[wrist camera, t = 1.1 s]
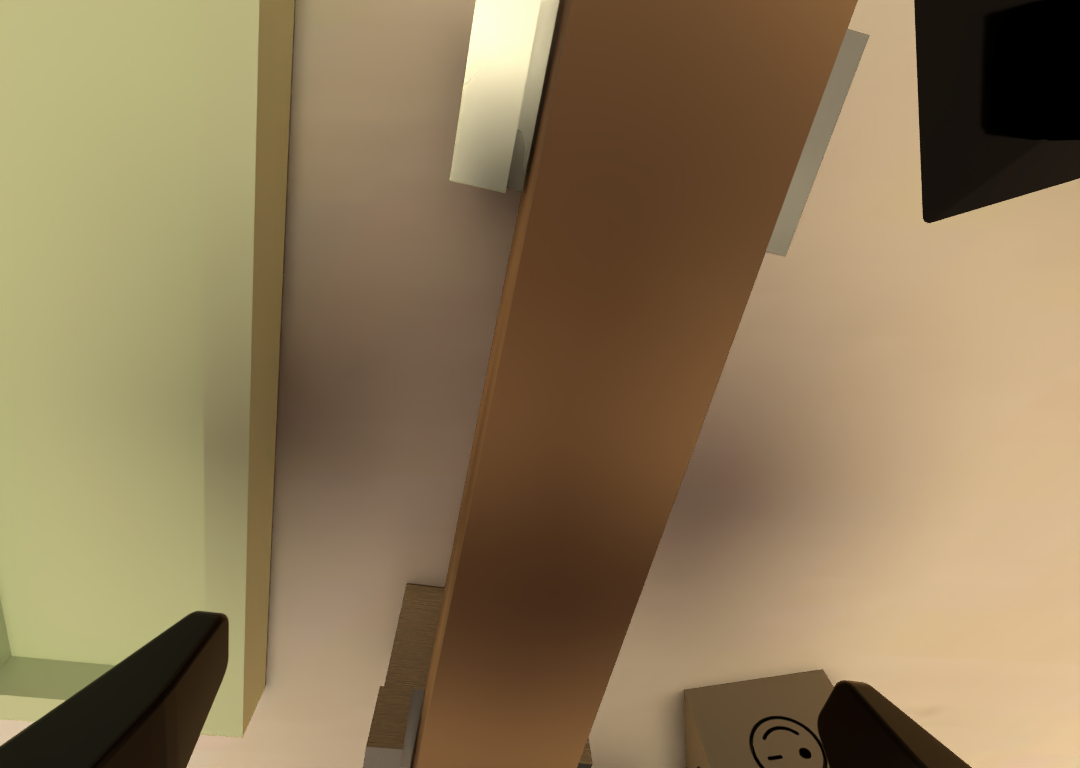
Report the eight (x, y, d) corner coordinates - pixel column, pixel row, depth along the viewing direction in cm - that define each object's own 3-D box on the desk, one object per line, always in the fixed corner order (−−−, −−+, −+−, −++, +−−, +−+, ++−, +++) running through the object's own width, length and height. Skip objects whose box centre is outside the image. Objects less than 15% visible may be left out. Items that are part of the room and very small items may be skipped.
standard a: (547, 670, 18) (563, 841, 14) (392, 654, 18) (354, 829, 13) (568, 603, 17) (592, 764, 13) (403, 583, 17) (366, 747, 12)
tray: (265, 686, 18) (242, 737, 16) (-7, 662, 17) (-59, 714, 15) (305, -237, 10) (266, -315, 8) (-231, -411, 8) (-399, -541, 7)
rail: (519, 776, 15) (522, 915, 12) (409, 768, 15) (388, 910, 12) (747, 36, 9) (865, -22, 6) (562, -17, 8) (593, -107, 5)
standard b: (685, 221, 13) (785, 256, 8) (468, 171, 12) (449, 181, 8) (727, 82, 12) (869, 35, 7) (493, 18, 11) (487, -79, 7)
